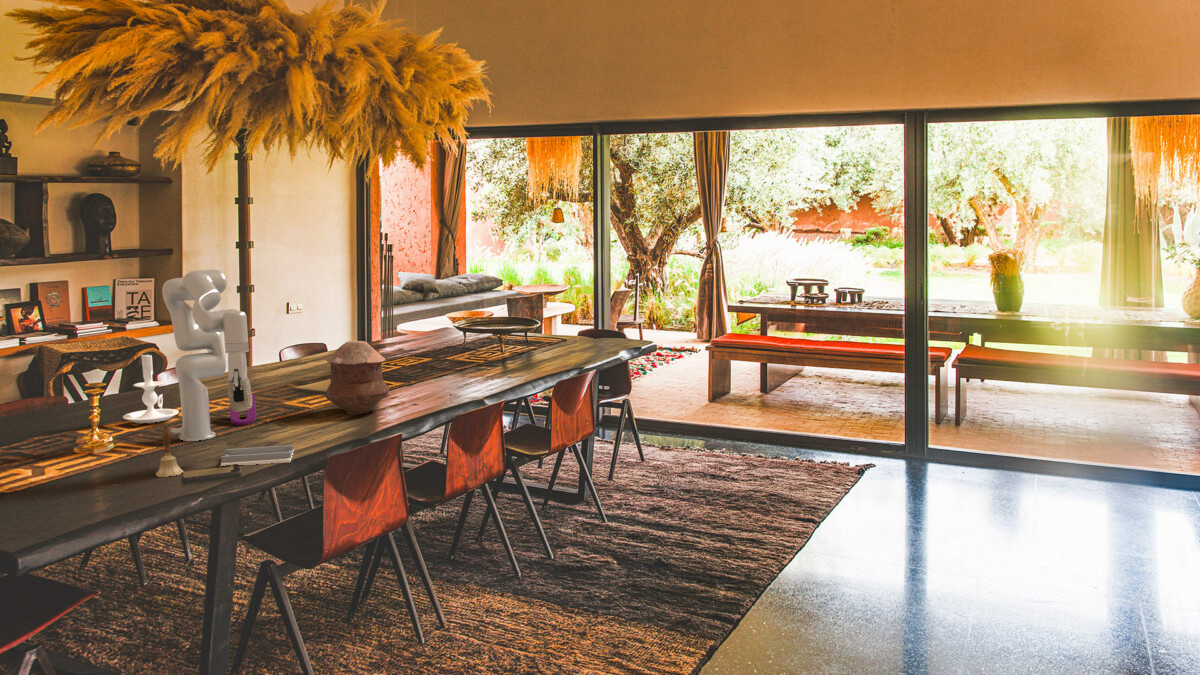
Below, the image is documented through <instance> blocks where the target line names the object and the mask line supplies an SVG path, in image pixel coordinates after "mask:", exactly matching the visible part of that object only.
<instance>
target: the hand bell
mask: <svg viewBox="0 0 1200 675" xmlns="http://www.w3.org/2000/svg"><path fill="white" fill-rule="evenodd" d="M170 430H171V429H170V428H169V426H168V425H167V424H166V425H165V424H164V425H163V426H162V430H161V438H162V442H163V445H164V455H163V457H161V458H160V464H159V468H158V470H157V471H156V473H155V474H156V476H158V477H157V478H170V477H169V476H172V477H176V475H177V476H180V475H182V474H183V473H184V469H182V468H181V467H180V466H179V465H178V461H177V459H176V456H174V455H172V454H171V446H170V445H171V437H172V436H171V431H170ZM182 472H183V473H182ZM181 473H182V474H181ZM156 476H155V477H156Z"/></svg>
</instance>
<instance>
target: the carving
mask: <svg viewBox="0 0 1200 675" xmlns="http://www.w3.org/2000/svg"><path fill="white" fill-rule="evenodd" d="M248 377H249V376H247V377H245V380H244V381H242V390H243V391H244V401H243V402H234V395H233V379H232V381H231V382H229V379H228V384H227V386H228V388H227V389H228V390H227V392H228V393H227V394H228V400H229V404H230V405H231V408H232V410H233V411H234V412H239V413H240V412H246V411H245V410H249V409H250V408H251V407H252V388H251V382H250V379H249V378H248ZM240 378H241V377H240ZM238 381H241V379H238Z"/></svg>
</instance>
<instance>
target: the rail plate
mask: <svg viewBox="0 0 1200 675" xmlns="http://www.w3.org/2000/svg"><path fill="white" fill-rule="evenodd" d="M293 452H295V450H294V445H293V444H286V445H272V446H259V447H258V446H256V447H255V446H254V447H253V446H252V447H242V448H241V447H240V448H225V454H224V455H222V456H221V457H220V458H221V459H220V461H221V462H220V467H221V466H226V465H233V464H238V465H244V466H255V465H256V464H259V465H269V464H270V465H271V463H273V464H285V463H291V461H292V459H291V458H293V456H294V453H293ZM292 455H293V456H292ZM256 466H257V465H256Z"/></svg>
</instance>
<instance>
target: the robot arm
mask: <svg viewBox="0 0 1200 675" xmlns="http://www.w3.org/2000/svg"><path fill="white" fill-rule="evenodd" d="M227 282H228V281H227V277H226V276H225V274H224V272H222V271H221V270H218V269H203V270H202V269H201V270H200V269H199V270H191V271H189V272H187V273H186V274H184V276H183V277H175V278H172V279H168V280H166V281H165V282H164V283H163V285H162V291H161V292H162V298H163V302H164V304H165V306H166V309H167V310H168V312H169V315H170V318H171V324H172V330H173V335H174V336H173V337H174V340H175V341H174V342H175V345H176V347H177V349H178V350H179V351H181V352H188V351H189V352H191V351H201V350H206V351H207V352H199V353H191V354H185V355H182V356H180V357H178V358H177V360H176V362H175V365H174V368H175V371H176V377H177V381H178V386H179V395H180V407H181V410H180V411H181V421H182V423H181V424H182V426H181V427H178V428H175V427H174V428H173V427H171V428H170V429H169V430H170V434H173V435H179V436H178V440H179V439H180V441H181V440H183V441H182V442H199V440H201V441H206V439H207V440H210V439H213V438H215V437H216V432H215V431H212V430H211V416H210V415H211V414H210V403H209V402H210V400H209V399H210V398H209V390H208V388H207V386H206V385H205V384H204V383H203V382H202V381H201V380H203V379H210V378H217V377H221V376H223V375H224V374H225V373H226V371H227V370H228V371H227V372H228V373H227V374H228V375H227V376H228V380H229V382H231V381H232V379H233V395H234V402H243V401H244V391H243V390H242V381H244V380H245V377H248V365H247V355H246V354H247V353H248V352H250V348H249V347H250V346H249V332H248V320H247V319H248V318H247V314H246V312H244V311H242V310H238V309H233V308H230V309H215V310H213V309H214V308H216V307H217V306H218V305H219V304H220V302H221V300H222V296H221V294H222V293H224V291H226V289H227V285H228V283H227ZM186 301H194V303H193V304H192V306H191V305H190V304H189V303H188V302H186ZM222 333H223V338H224V345H223V338H222V335H221V334H222ZM225 353H226V354H227V362H226V356H225V355H226V354H225ZM240 377H241V378H240ZM238 379H241V381H238ZM229 382H228V383H229Z"/></svg>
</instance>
